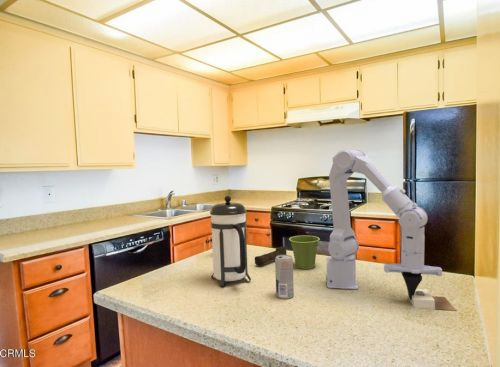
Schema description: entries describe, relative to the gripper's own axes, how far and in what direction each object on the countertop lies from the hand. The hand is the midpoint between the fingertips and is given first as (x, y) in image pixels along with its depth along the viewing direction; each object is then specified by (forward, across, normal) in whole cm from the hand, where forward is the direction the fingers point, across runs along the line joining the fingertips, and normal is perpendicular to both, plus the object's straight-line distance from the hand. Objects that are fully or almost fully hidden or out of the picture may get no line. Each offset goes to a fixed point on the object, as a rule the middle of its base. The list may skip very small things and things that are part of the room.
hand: (411, 298), depth 92 cm
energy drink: (+2, -36, -1) cm, 36 cm away
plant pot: (+2, -32, +29) cm, 43 cm away
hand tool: (+6, -48, +30) cm, 57 cm away
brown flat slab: (+1, +7, 0) cm, 7 cm away
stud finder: (+1, +2, 0) cm, 2 cm away
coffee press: (+3, -55, +9) cm, 56 cm away
